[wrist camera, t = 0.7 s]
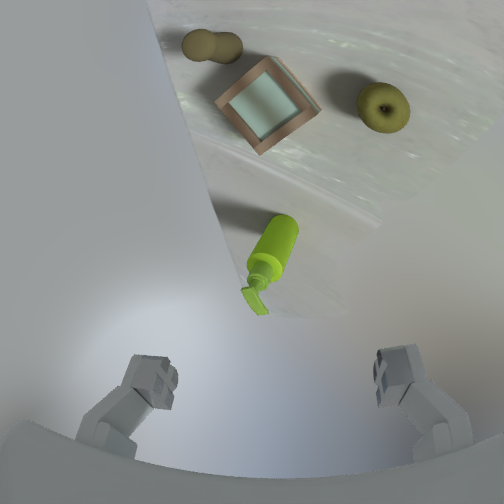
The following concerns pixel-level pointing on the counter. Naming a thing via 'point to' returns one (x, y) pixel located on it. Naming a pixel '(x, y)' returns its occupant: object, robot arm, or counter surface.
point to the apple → (383, 108)
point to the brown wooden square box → (267, 104)
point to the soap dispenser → (269, 259)
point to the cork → (212, 46)
